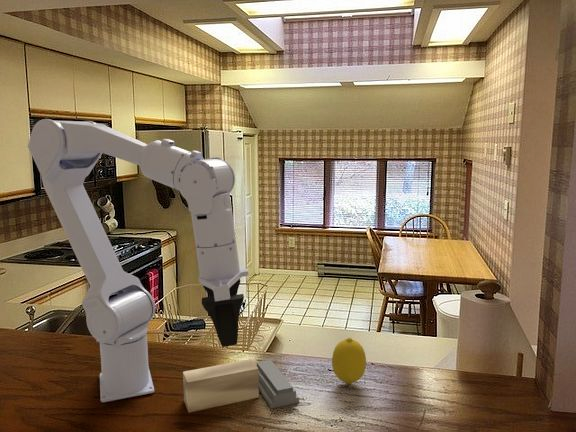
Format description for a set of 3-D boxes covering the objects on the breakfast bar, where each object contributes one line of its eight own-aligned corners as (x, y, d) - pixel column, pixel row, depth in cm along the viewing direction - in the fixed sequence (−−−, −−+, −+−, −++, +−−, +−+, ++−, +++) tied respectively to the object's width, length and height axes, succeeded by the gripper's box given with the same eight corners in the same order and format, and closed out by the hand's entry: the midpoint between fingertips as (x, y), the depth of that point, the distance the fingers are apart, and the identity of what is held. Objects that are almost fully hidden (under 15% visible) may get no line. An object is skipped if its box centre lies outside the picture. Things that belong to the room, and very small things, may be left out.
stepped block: (251, 378, 81) (251, 363, 81) (276, 373, 83) (276, 358, 83) (271, 408, 72) (271, 391, 72) (299, 402, 74) (299, 386, 73)
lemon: (324, 382, 80) (325, 336, 79) (349, 372, 83) (349, 328, 82) (348, 396, 75) (349, 348, 74) (372, 385, 79) (373, 339, 77)
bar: (184, 401, 74) (182, 371, 74) (251, 387, 79) (251, 359, 78) (188, 413, 71) (187, 382, 70) (258, 398, 75) (258, 368, 75)
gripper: (247, 248, 62) (260, 349, 63) (241, 233, 76) (252, 315, 77) (191, 255, 61) (206, 358, 62) (196, 239, 75) (208, 323, 77)
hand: (228, 335), depth 70 cm, fingers open, 7 cm apart
